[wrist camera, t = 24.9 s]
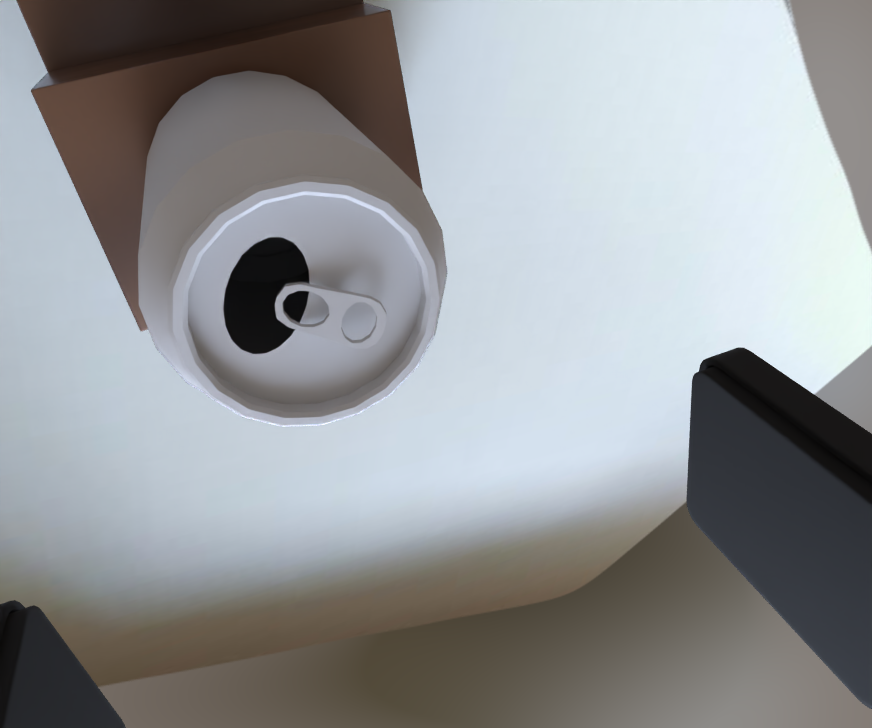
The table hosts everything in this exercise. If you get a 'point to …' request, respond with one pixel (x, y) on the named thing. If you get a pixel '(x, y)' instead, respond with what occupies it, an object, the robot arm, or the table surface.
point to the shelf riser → (188, 68)
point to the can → (284, 254)
